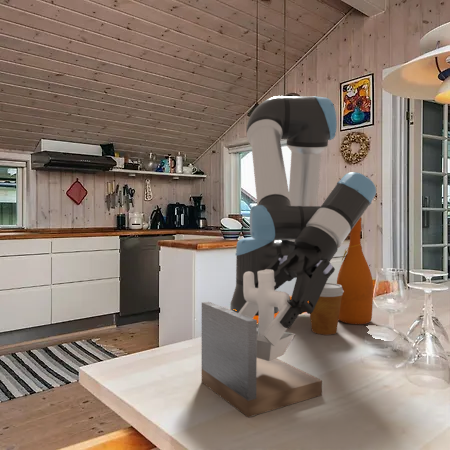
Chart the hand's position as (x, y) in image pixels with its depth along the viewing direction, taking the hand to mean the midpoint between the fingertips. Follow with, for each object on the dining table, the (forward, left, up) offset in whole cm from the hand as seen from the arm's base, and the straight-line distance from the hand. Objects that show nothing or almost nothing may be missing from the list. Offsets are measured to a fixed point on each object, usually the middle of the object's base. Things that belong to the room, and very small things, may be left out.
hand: (251, 333), depth 72 cm
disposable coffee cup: (-38, -17, -10) cm, 43 cm away
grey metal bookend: (+5, -1, -7) cm, 9 cm away
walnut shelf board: (-2, 0, -10) cm, 10 cm away
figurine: (-3, 0, -5) cm, 6 cm away
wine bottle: (-53, -19, -10) cm, 58 cm away
